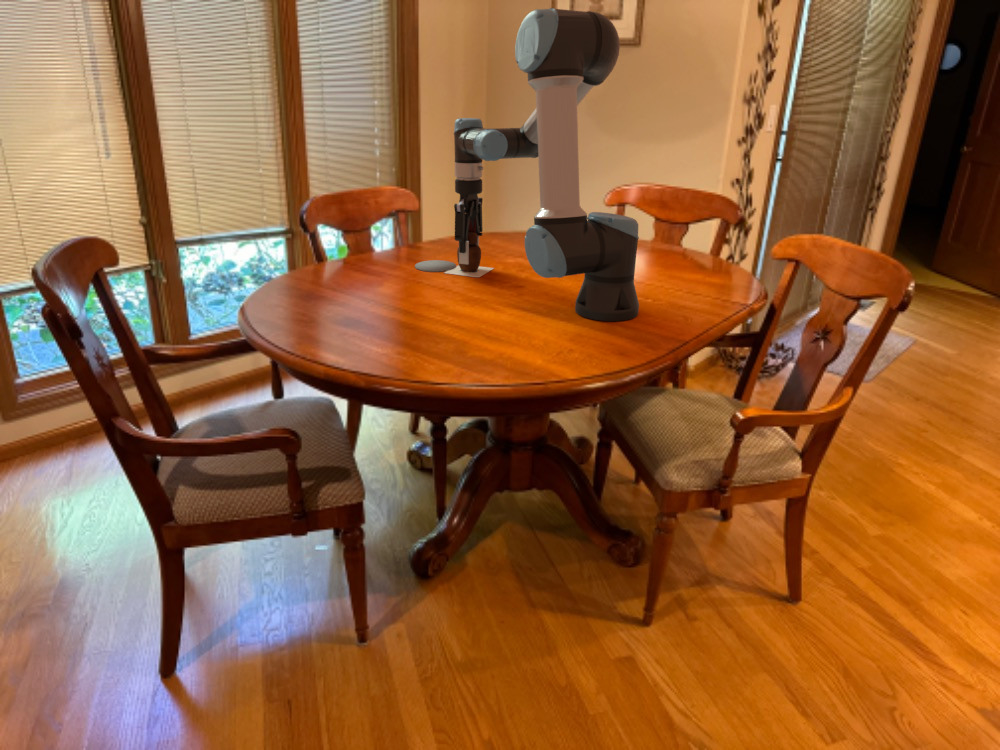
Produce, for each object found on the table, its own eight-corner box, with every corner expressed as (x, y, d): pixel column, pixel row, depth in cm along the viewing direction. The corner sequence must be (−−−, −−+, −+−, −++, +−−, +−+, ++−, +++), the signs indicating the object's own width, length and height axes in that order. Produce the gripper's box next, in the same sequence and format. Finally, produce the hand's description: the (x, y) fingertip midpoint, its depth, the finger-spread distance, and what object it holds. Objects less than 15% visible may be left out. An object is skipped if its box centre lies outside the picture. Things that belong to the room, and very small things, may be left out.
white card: (478, 277, 192) (478, 277, 192) (443, 273, 196) (443, 272, 196) (494, 268, 201) (494, 268, 201) (460, 264, 205) (460, 264, 205)
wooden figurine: (482, 268, 201) (482, 216, 195) (479, 273, 195) (479, 220, 189) (459, 267, 201) (458, 215, 195) (456, 272, 196) (455, 219, 190)
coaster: (444, 273, 195) (444, 272, 195) (407, 269, 199) (407, 267, 199) (462, 264, 205) (462, 262, 205) (427, 259, 209) (427, 258, 209)
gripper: (465, 183, 178) (466, 270, 188) (495, 175, 195) (494, 255, 204) (440, 181, 181) (442, 267, 190) (471, 173, 197) (471, 252, 207)
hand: (469, 260), depth 197 cm, fingers closed on wooden figurine, 6 cm apart
